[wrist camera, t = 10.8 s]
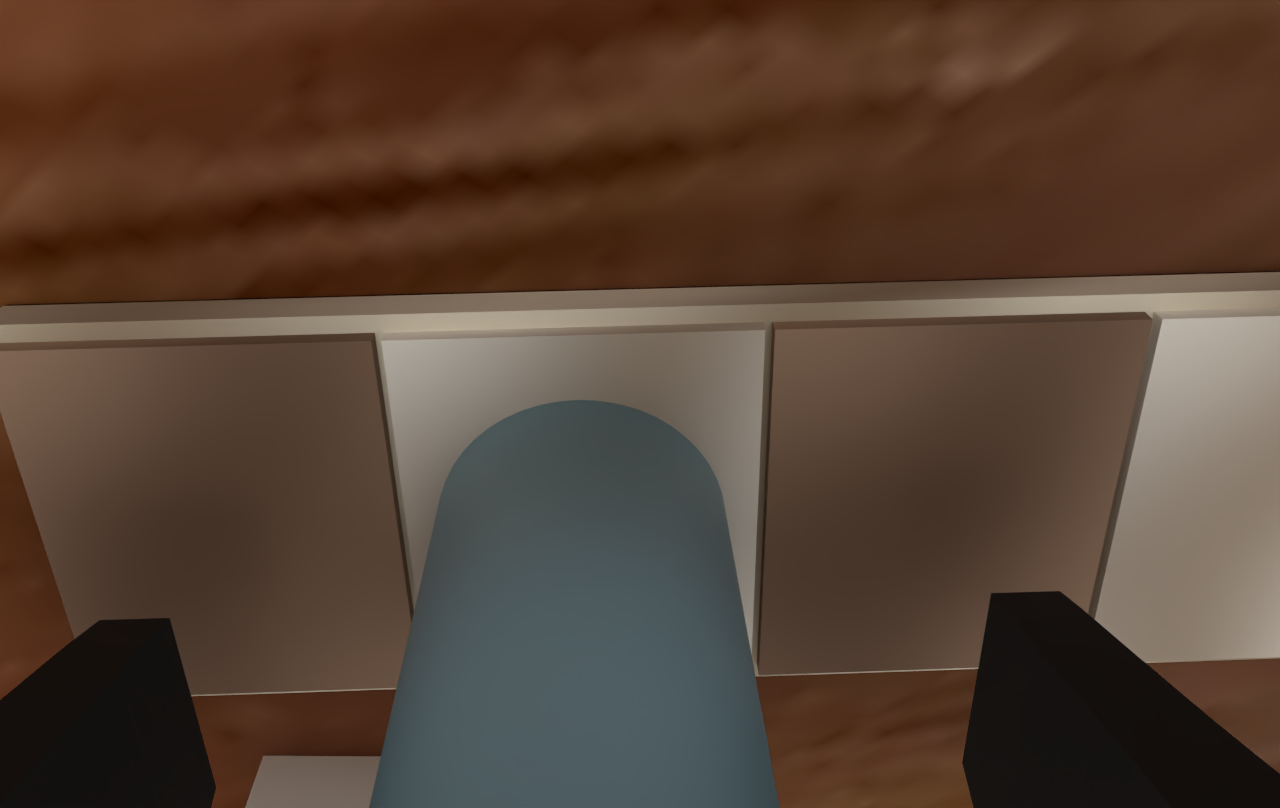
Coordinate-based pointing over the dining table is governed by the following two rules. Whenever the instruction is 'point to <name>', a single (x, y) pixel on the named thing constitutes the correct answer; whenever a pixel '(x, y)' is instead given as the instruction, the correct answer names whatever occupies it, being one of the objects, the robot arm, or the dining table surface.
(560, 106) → the dining table surface
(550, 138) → the dining table surface
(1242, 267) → the dining table surface
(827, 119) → the dining table surface
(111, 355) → the board
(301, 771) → the die
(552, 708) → the blue capsule cylinder
